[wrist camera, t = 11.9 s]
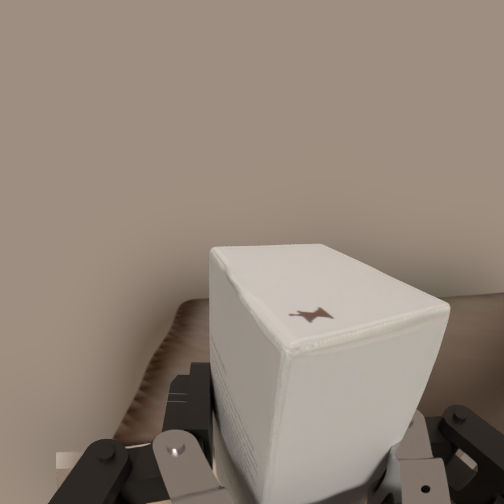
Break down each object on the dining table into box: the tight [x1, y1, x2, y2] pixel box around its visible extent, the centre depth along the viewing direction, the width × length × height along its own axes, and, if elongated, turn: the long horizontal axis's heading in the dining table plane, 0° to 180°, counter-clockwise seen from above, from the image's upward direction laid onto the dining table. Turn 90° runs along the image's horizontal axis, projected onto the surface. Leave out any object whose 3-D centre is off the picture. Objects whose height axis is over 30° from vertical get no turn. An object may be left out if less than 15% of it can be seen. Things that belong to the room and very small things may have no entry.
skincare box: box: [209, 244, 450, 504], centre depth 9 cm, size 6×4×12 cm
